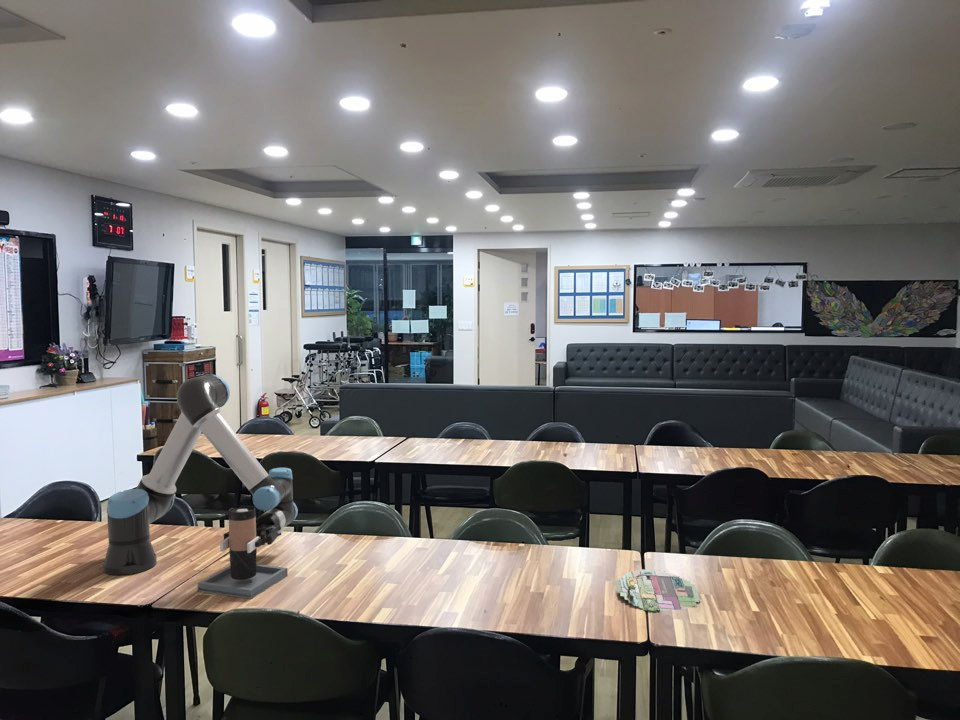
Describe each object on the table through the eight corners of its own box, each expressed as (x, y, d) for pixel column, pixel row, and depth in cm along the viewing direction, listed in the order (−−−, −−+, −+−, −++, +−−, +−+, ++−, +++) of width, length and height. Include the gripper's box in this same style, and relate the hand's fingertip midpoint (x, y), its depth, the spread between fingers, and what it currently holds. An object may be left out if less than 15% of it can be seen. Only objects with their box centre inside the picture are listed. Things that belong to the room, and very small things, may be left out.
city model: (636, 627, 184) (638, 605, 183) (597, 583, 206) (598, 564, 205) (718, 616, 191) (721, 596, 190) (672, 575, 213) (674, 557, 212)
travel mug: (252, 580, 204) (250, 512, 203) (226, 580, 205) (224, 512, 203) (260, 570, 212) (259, 505, 211) (235, 570, 212) (233, 505, 211)
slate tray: (197, 591, 203) (197, 582, 202) (237, 569, 220) (237, 561, 220) (251, 599, 197) (251, 590, 197) (287, 576, 214) (287, 567, 214)
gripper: (299, 536, 224) (268, 562, 202) (239, 534, 227) (202, 558, 204) (299, 513, 224) (268, 536, 201) (238, 511, 226) (201, 533, 204)
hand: (235, 547), depth 203 cm, fingers closed on travel mug, 8 cm apart
